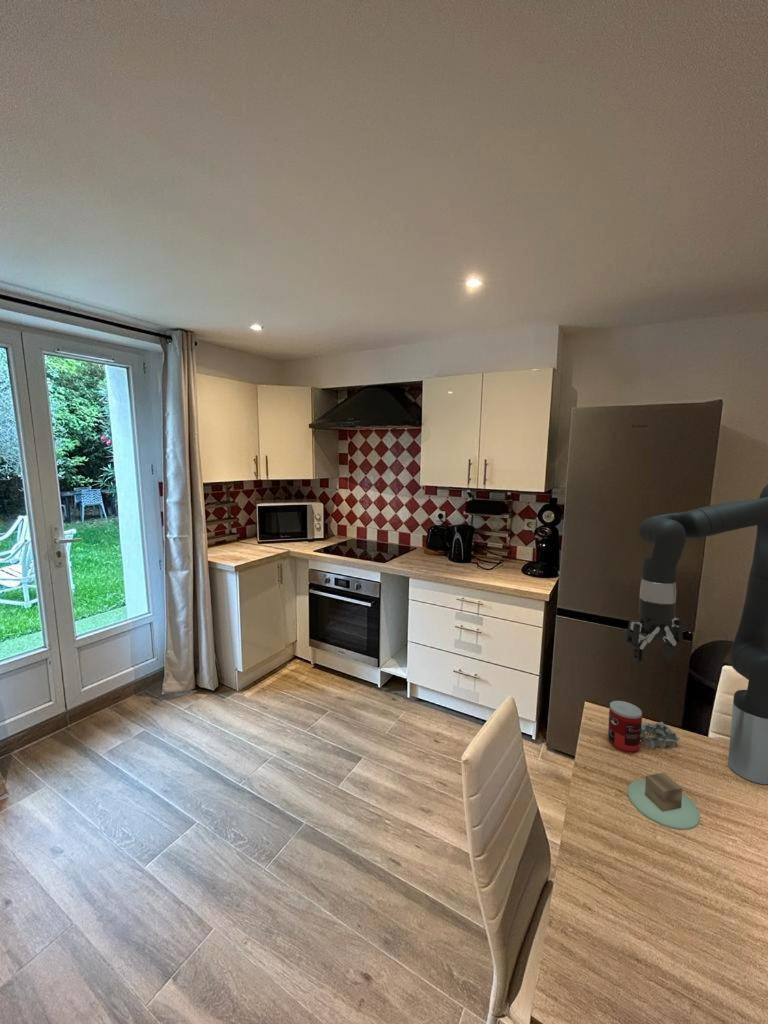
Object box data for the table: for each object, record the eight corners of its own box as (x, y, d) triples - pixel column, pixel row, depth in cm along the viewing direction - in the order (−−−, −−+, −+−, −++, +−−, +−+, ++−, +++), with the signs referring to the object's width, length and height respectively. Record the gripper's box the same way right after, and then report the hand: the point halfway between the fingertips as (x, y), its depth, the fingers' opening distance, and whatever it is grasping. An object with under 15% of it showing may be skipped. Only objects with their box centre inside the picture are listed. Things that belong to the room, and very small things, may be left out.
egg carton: (645, 751, 116) (646, 737, 116) (628, 734, 124) (628, 721, 123) (682, 749, 117) (682, 735, 117) (662, 732, 124) (663, 719, 124)
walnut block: (662, 791, 101) (664, 772, 100) (681, 808, 96) (682, 788, 95) (644, 794, 100) (646, 775, 99) (662, 811, 95) (663, 791, 94)
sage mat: (662, 777, 106) (662, 775, 106) (715, 823, 92) (716, 820, 92) (614, 786, 103) (614, 784, 103) (662, 834, 90) (662, 832, 90)
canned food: (610, 732, 124) (612, 697, 123) (641, 743, 119) (644, 707, 118) (604, 745, 118) (606, 709, 117) (637, 757, 113) (639, 719, 112)
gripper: (668, 591, 109) (664, 651, 110) (621, 595, 106) (617, 656, 108) (695, 600, 101) (690, 664, 103) (645, 604, 98) (640, 670, 100)
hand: (653, 660), depth 105 cm, fingers open, 8 cm apart
